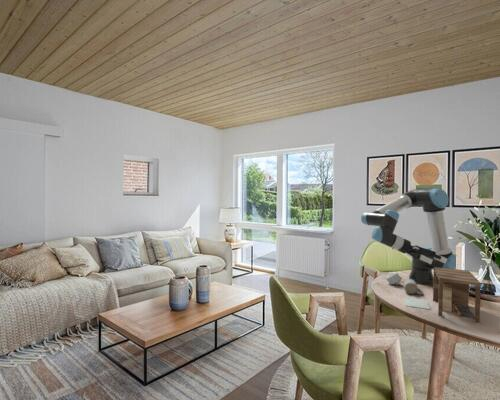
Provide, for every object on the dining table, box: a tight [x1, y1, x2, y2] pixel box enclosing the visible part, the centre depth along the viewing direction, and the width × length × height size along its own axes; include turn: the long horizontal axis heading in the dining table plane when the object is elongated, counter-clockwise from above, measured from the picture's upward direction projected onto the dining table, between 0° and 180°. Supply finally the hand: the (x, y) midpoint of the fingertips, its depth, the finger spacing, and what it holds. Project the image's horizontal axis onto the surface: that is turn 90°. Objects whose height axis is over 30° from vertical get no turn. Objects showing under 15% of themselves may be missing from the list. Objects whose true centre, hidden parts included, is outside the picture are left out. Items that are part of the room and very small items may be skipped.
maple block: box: [437, 284, 452, 312], centre depth 153 cm, size 5×5×12 cm
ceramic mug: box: [402, 278, 424, 296], centre depth 178 cm, size 10×8×7 cm
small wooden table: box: [432, 267, 482, 324], centre depth 151 cm, size 25×16×18 cm, turn 154°
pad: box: [404, 298, 431, 310], centre depth 159 cm, size 12×11×1 cm
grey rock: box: [385, 271, 402, 286], centre depth 195 cm, size 8×9×10 cm
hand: (438, 261), depth 161 cm, fingers open, 13 cm apart
